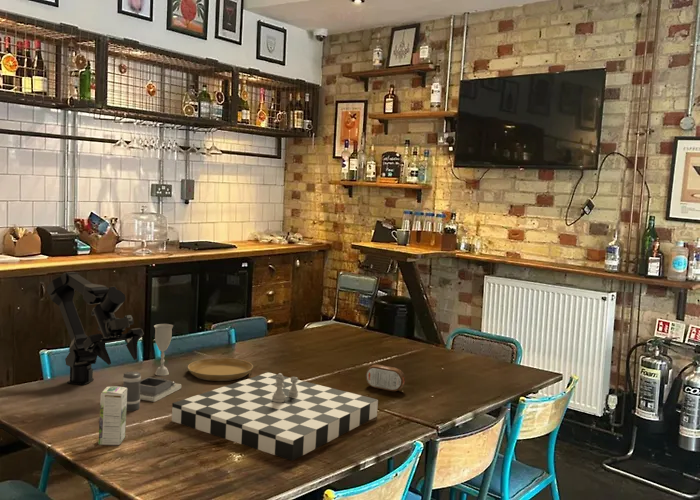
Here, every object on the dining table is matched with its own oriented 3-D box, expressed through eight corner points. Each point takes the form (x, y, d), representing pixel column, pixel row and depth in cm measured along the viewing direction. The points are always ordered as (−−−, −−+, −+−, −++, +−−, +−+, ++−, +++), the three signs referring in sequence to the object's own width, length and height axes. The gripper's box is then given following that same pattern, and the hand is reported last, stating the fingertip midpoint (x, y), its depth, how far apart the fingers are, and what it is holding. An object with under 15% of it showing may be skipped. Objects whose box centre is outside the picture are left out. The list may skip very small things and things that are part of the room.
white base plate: (125, 396, 216) (125, 384, 216) (153, 383, 232) (153, 372, 231) (154, 401, 213) (154, 389, 213) (181, 388, 228) (181, 377, 228)
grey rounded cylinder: (119, 410, 204) (120, 375, 203) (127, 404, 209) (128, 370, 208) (135, 411, 203) (136, 376, 202) (142, 406, 208) (143, 372, 207)
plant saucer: (174, 376, 242) (174, 368, 242) (211, 362, 265) (211, 354, 264) (230, 387, 233) (230, 378, 233) (264, 371, 256) (264, 363, 255)
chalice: (165, 377, 240) (167, 328, 238) (148, 375, 241) (150, 326, 240) (175, 372, 247) (176, 324, 246) (158, 370, 249) (159, 323, 247)
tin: (404, 391, 240) (406, 369, 239) (401, 393, 237) (403, 371, 236) (367, 384, 246) (368, 362, 245) (363, 386, 243) (365, 364, 242)
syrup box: (104, 437, 182) (105, 385, 181) (126, 437, 183) (127, 386, 181) (98, 445, 176) (99, 392, 175) (120, 445, 177) (122, 393, 176)
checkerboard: (292, 462, 174) (295, 408, 172) (171, 422, 197) (173, 374, 196) (376, 417, 212) (379, 372, 211) (267, 388, 235) (269, 348, 234)
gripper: (90, 310, 205) (107, 354, 200) (142, 304, 220) (159, 345, 214) (75, 328, 211) (91, 371, 206) (127, 321, 225) (144, 361, 220)
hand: (123, 361), depth 211 cm, fingers open, 9 cm apart
